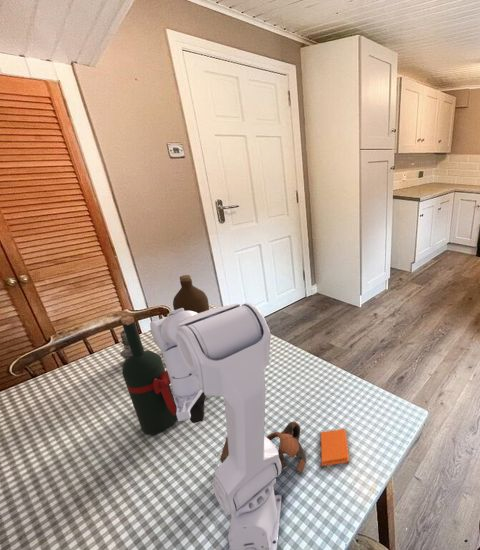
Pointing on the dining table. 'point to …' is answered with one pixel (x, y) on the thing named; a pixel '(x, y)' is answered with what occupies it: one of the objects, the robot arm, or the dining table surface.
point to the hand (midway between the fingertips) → (198, 419)
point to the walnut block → (225, 451)
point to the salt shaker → (125, 346)
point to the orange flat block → (334, 447)
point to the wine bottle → (147, 384)
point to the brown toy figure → (290, 445)
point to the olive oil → (190, 297)
